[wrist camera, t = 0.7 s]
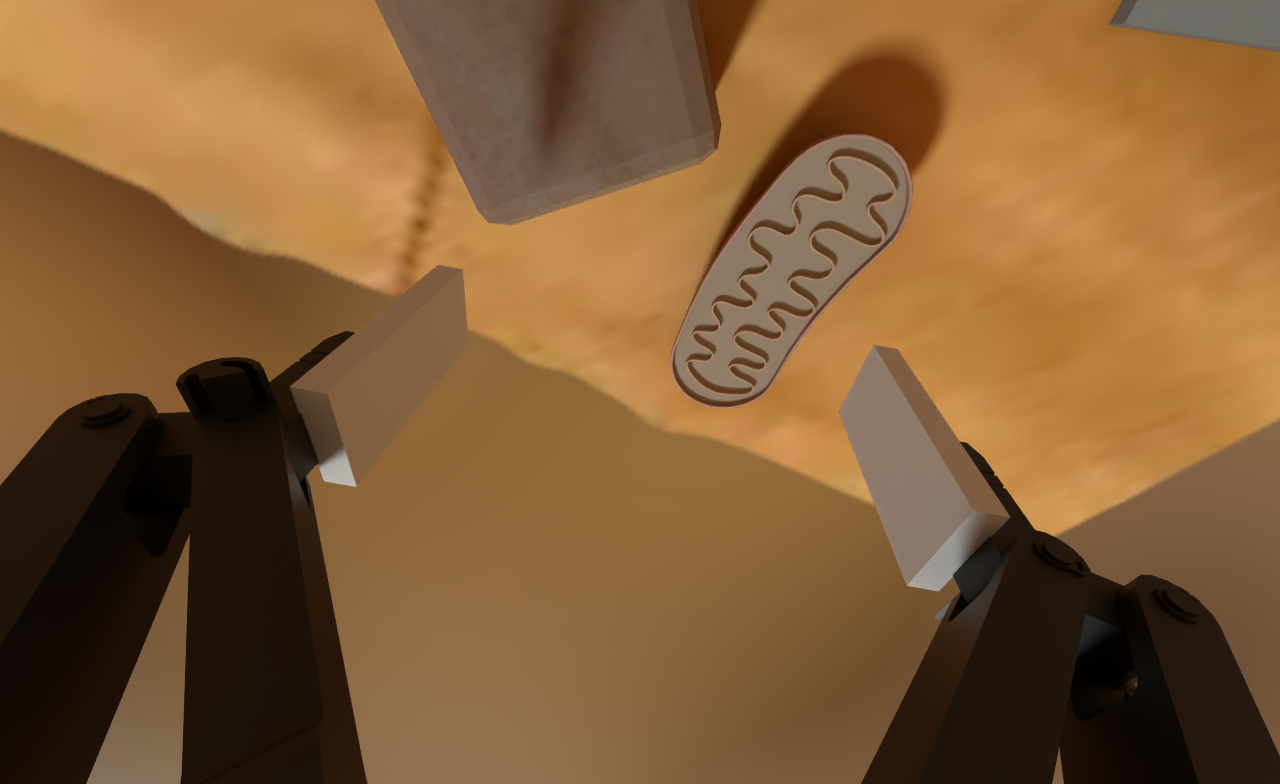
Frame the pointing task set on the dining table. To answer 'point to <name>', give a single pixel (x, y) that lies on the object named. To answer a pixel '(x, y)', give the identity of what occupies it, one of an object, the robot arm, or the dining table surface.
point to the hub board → (1207, 20)
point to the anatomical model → (789, 265)
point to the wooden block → (560, 94)
